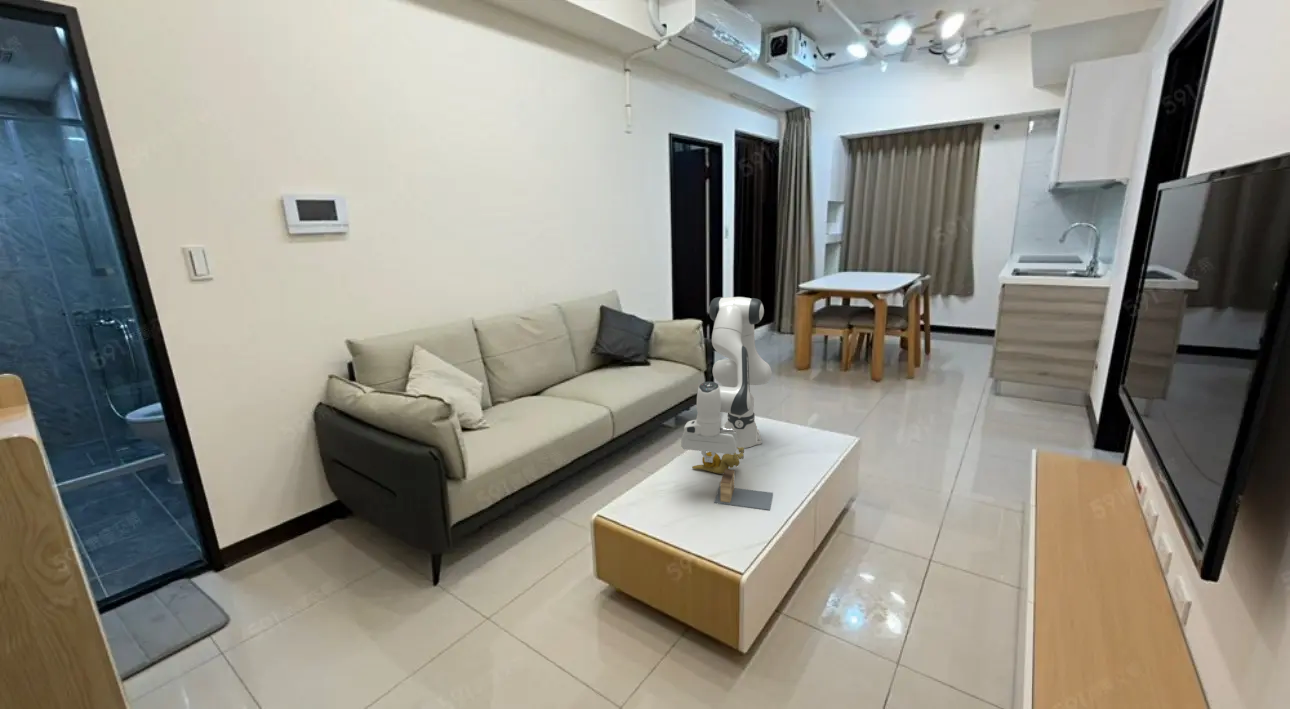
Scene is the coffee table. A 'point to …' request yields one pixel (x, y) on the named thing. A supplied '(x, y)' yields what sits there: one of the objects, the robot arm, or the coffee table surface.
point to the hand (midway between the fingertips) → (708, 461)
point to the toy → (721, 462)
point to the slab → (727, 485)
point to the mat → (748, 499)
